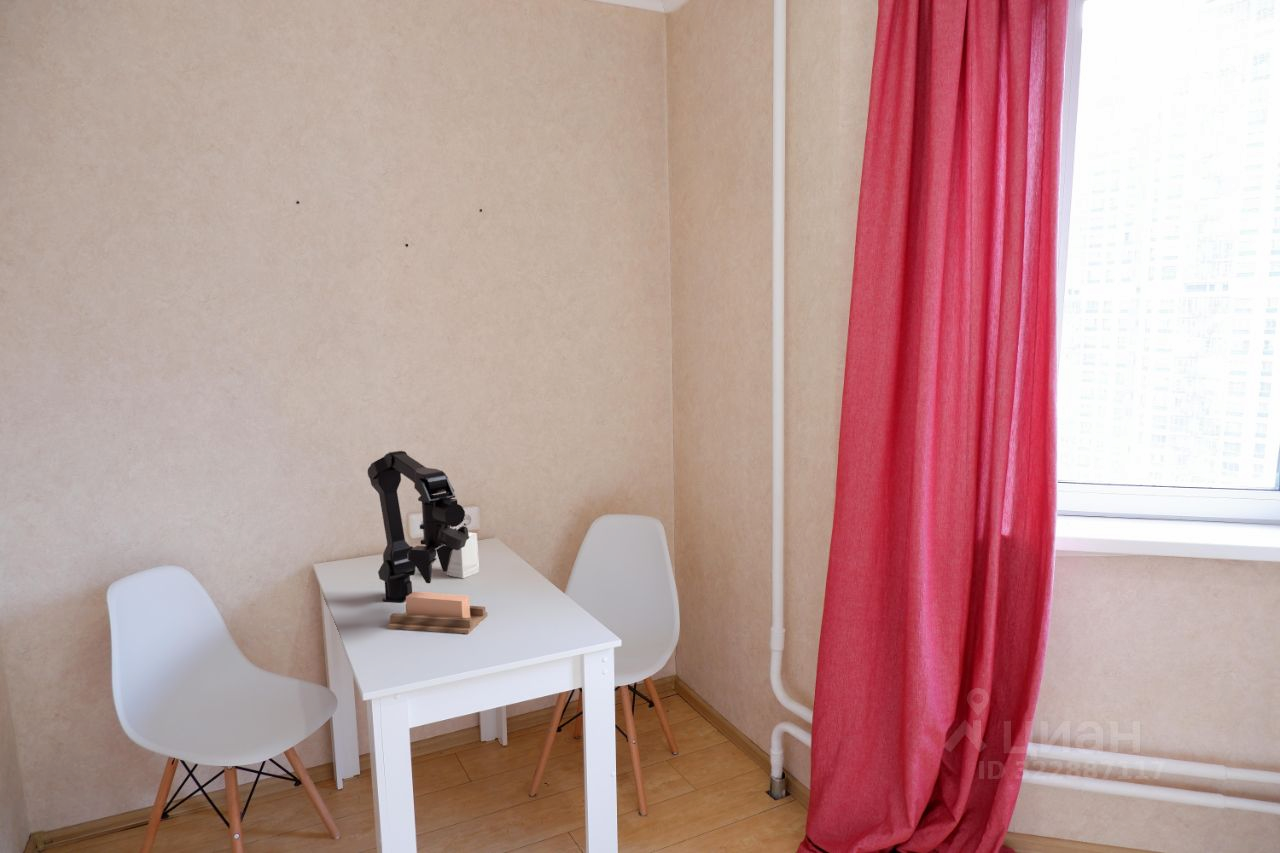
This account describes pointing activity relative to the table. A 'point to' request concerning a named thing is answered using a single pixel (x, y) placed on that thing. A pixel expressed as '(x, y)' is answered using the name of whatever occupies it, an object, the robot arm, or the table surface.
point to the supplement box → (465, 559)
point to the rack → (438, 622)
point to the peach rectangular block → (438, 604)
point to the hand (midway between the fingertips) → (437, 577)
